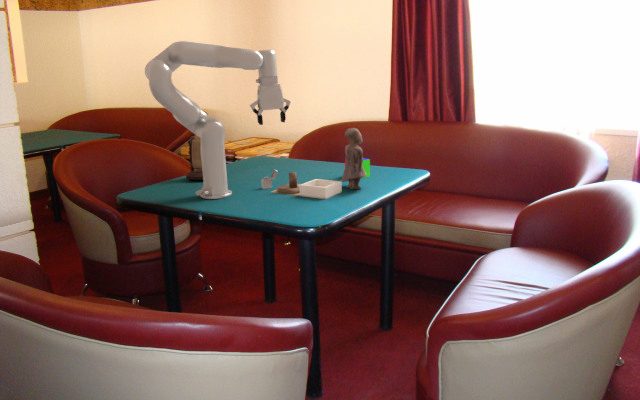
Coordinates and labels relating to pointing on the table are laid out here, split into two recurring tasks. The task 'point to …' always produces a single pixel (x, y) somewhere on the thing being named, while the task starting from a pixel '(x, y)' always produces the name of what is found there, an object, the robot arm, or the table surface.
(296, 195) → the mat
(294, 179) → the lid
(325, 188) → the dish
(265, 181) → the lighter
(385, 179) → the table surface
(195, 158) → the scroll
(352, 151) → the clay figurine
